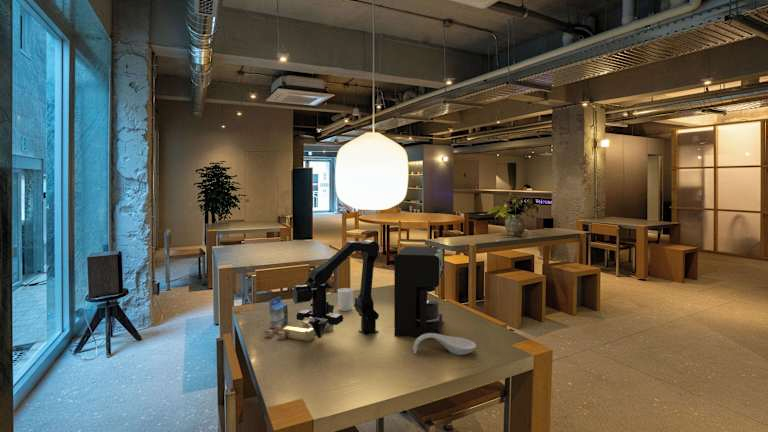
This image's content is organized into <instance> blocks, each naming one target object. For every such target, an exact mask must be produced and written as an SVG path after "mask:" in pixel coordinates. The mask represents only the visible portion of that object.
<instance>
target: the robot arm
mask: <svg viewBox="0 0 768 432" xmlns="http://www.w3.org/2000/svg"><path fill="white" fill-rule="evenodd" d="M354 252H360V255H361V258H362V268H361V278H360V281H361V282H360V293H359V294H358V296H355V297H354V305H353V307H354V309H355V311H356V312H357V313H358V316H359V317H360V318H361V319H360V327H361V328H359V329H358V332H360V333H362V334H364V335H366V336H367V335H368V336H369V335H372V334H375V333H379V329H376V325H377V323H376V321H377V320H379V317H380V316H379V312H377V311H376V310H375V309H374V308H375V307H374V299H373V297H372V289H373V276H374V267H375V262H376V260H377V258H378V256H379V252H380V244H379V243H378V242H377V241H375V240H374V241H373V240H369V239H364V240H363V241H354V240H353V241H352V240H348V241H347V242H346V244H345V245H343V247H342V248H339V250H338V251H337V252H336V253H335V254H334V255H332V256H331V257H330V258H329V259H328V260H327V261H326V262H324V263H322V264H318V266H315V267H314V268H313V269H311V271H310V275H309V277H308V278H307V280H306V281H305V283H304V284H302V285H294V288H293V291H292V299H293V300H292V301H293V303H294V304H302V303H308V302H310V301H311V303H310V307H312V308H311V310H310V309H302V310H300V311H299V312H297V314H296V317H295V318H296V320H297V321H305V319H310V321H309V323H310V324H311V326H312V327H313V329H314V330H315V332H316V336H317V338H318V339H321V338H322V337H323V335H324V333H323V331H324V328H325V326H326V324H327V323H329V324H331V325H333V326H338V325H339V324H341V323H342V322H343V321H344V316H343V314H341V313H334V309H335V305H332V304H329V300H327V293H328V292H327V290H329V289H331V288H332V287H333V286H331V285H330V284H329V283H328V281H329V280H330V279H331V277H332V275H333V273H334V271H335V270H336V269H337V268H338V267H339V266H340V265H342V263H343V262H345V261H346V260H347V259H348V258H349V257H350V256H351V255H352V254H354ZM330 314H331V315H330Z"/></svg>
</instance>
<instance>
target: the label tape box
mask: <svg viewBox="0 0 768 432" xmlns="http://www.w3.org/2000/svg"><path fill="white" fill-rule="evenodd" d="M281 299H282V296H280V295H279V296H278V297H275V298H274V299H271V300H269V322H270V323H269V324H270V328H271V329H274V326H275V325H279V326H282V327H283V326H284V325H285V324H288V323H289V315H288V314H289V311H288V304H286V303H284V302H282V300H281Z"/></svg>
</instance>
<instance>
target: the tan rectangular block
mask: <svg viewBox="0 0 768 432" xmlns="http://www.w3.org/2000/svg"><path fill="white" fill-rule="evenodd" d="M282 332H286V339H295V340H299V341H306V342H311V341H312V340H314V339H315V337H316V336H315V330H314V329H313V328H309V329H304V328H302V327H296V326H295V327H294V326H290V325H287V326H285V327H282Z"/></svg>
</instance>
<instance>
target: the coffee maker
mask: <svg viewBox="0 0 768 432" xmlns="http://www.w3.org/2000/svg"><path fill="white" fill-rule="evenodd" d="M443 256H444V252H443V248H441V247H438V246H437V247H436V246H410V245H409V246H404V247H403V248H402V249H401V250H400V251H399V252H397V254H395V255H394V256H393V259H394V263H393V264H394V274H393V275H394V282H393V283H394V286H393V287H394V291H393V292H394V293H393V295H394V303H393V304H394V314H393V315H394V323H393V324H394V326H393V327H394V331H393V332H394V334H393V335H394V337H399V338H400V337H402V338H415V339H417V338H418V337H419V336H421V335H423V334H426V333H436V334H441V330H442V329H441V328H442V324H443V314H442V313H440V304H439V303H440V302H439V301H438V300H436V299H431V298H428V293H430V292H431V293H432V292H435V291H436V290H437V289H436V288H438V287H439V286H440V283H441V279H442V276H443V273H444V272H443V271H444V269H445V266H443V264H444V262H443V259H444V257H443ZM427 339H428V340H429V339H430V340H434V339H433V338H427ZM427 339H426V340H427Z"/></svg>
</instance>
